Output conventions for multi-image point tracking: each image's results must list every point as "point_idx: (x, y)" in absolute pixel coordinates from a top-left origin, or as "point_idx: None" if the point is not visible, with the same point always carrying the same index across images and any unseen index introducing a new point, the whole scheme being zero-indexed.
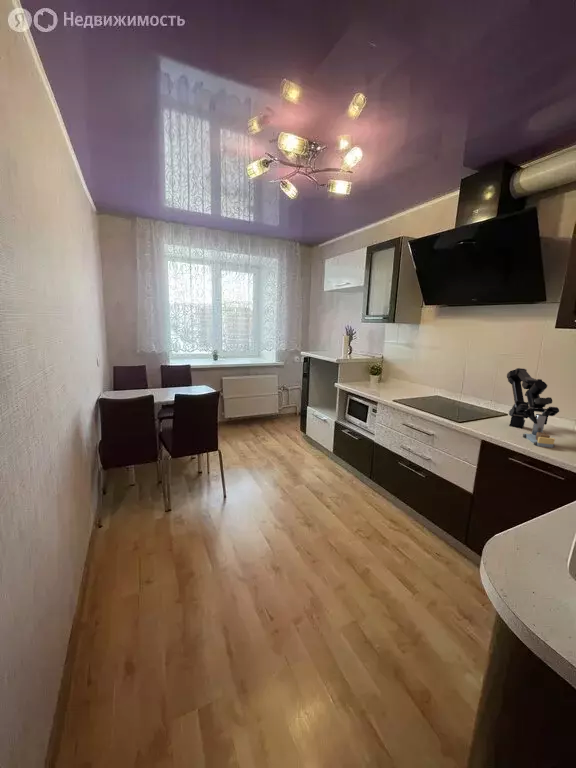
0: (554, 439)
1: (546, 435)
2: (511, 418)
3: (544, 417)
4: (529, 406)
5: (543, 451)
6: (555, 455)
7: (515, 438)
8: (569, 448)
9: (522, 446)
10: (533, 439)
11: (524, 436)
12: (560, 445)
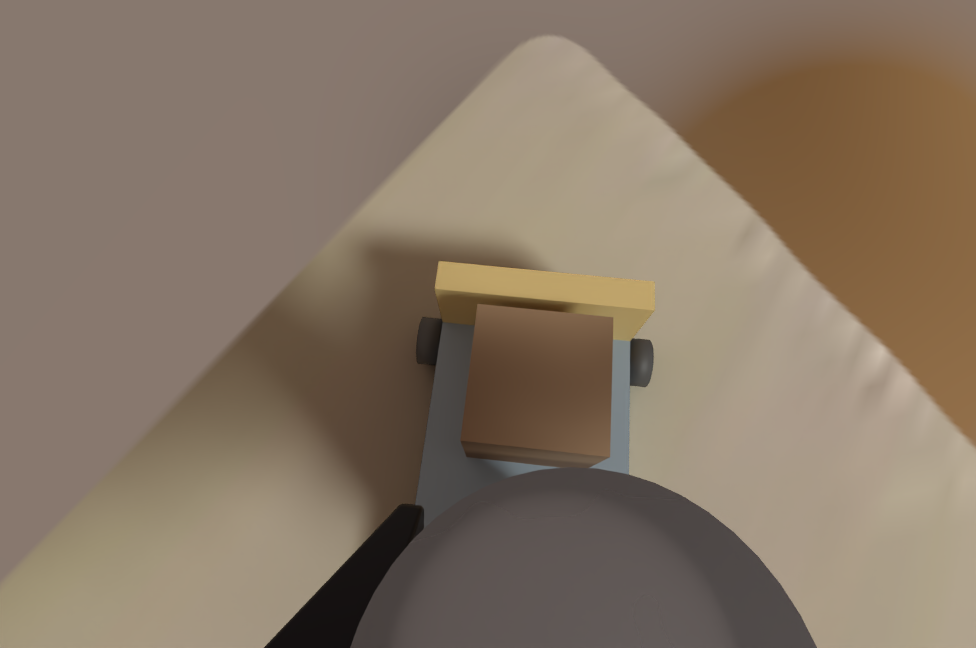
0: (444, 264)
1: (531, 310)
2: None
3: (529, 474)
4: None
5: (631, 205)
6: (564, 133)
7: None
8: (223, 352)
9: (811, 301)
10: (627, 444)
11: None
12: (256, 438)
